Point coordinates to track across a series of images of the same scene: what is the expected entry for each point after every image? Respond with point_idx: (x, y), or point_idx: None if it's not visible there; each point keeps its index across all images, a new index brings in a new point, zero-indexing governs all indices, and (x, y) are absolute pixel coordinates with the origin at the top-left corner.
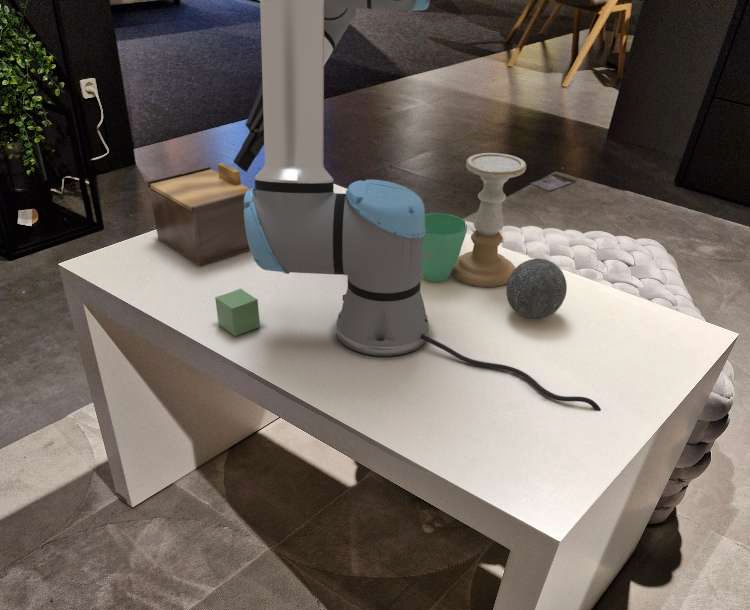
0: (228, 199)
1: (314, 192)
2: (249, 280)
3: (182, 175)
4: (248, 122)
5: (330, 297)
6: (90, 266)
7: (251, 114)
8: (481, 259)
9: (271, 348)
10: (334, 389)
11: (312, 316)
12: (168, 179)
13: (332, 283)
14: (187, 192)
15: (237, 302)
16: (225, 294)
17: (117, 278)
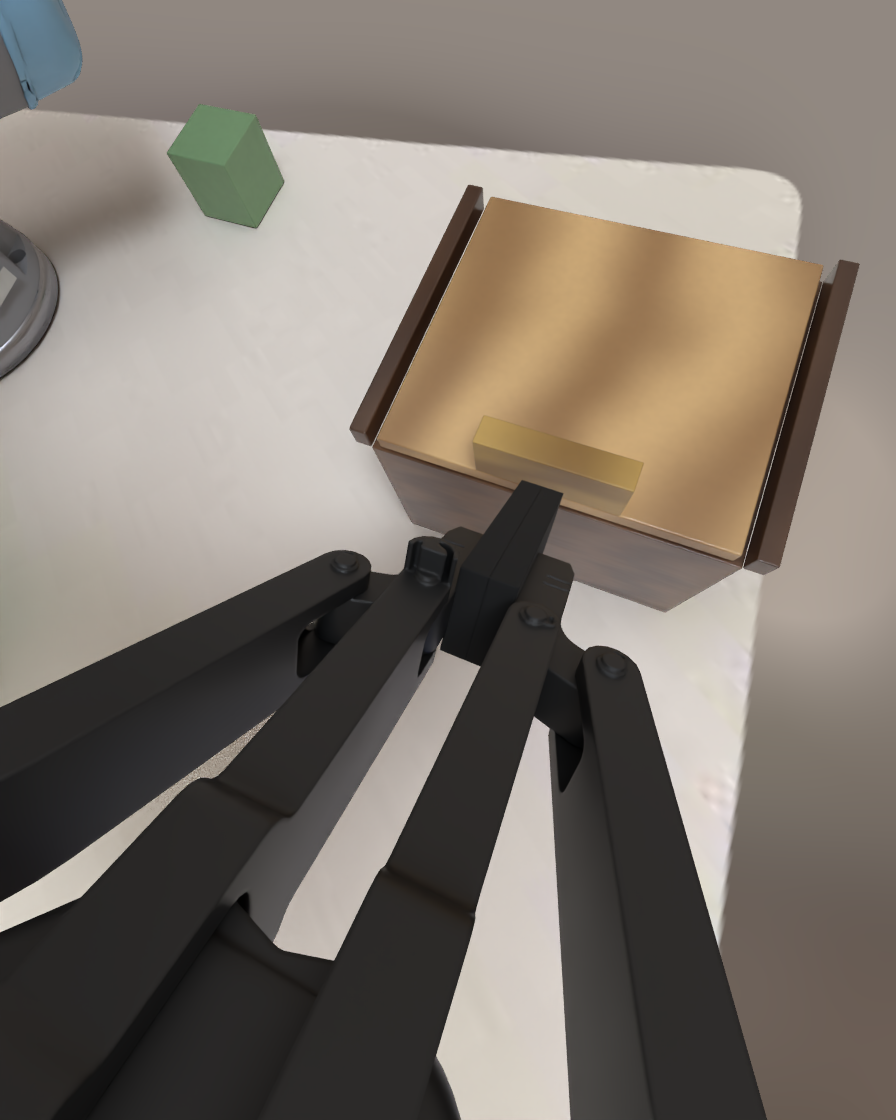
0: (410, 307)
1: None
2: (329, 349)
3: (794, 414)
4: (605, 664)
5: (115, 381)
6: (739, 203)
7: (633, 745)
8: None
9: (153, 177)
10: (13, 149)
11: (124, 297)
12: (810, 351)
13: (133, 439)
14: (607, 281)
15: (200, 124)
16: (240, 131)
17: (624, 199)
